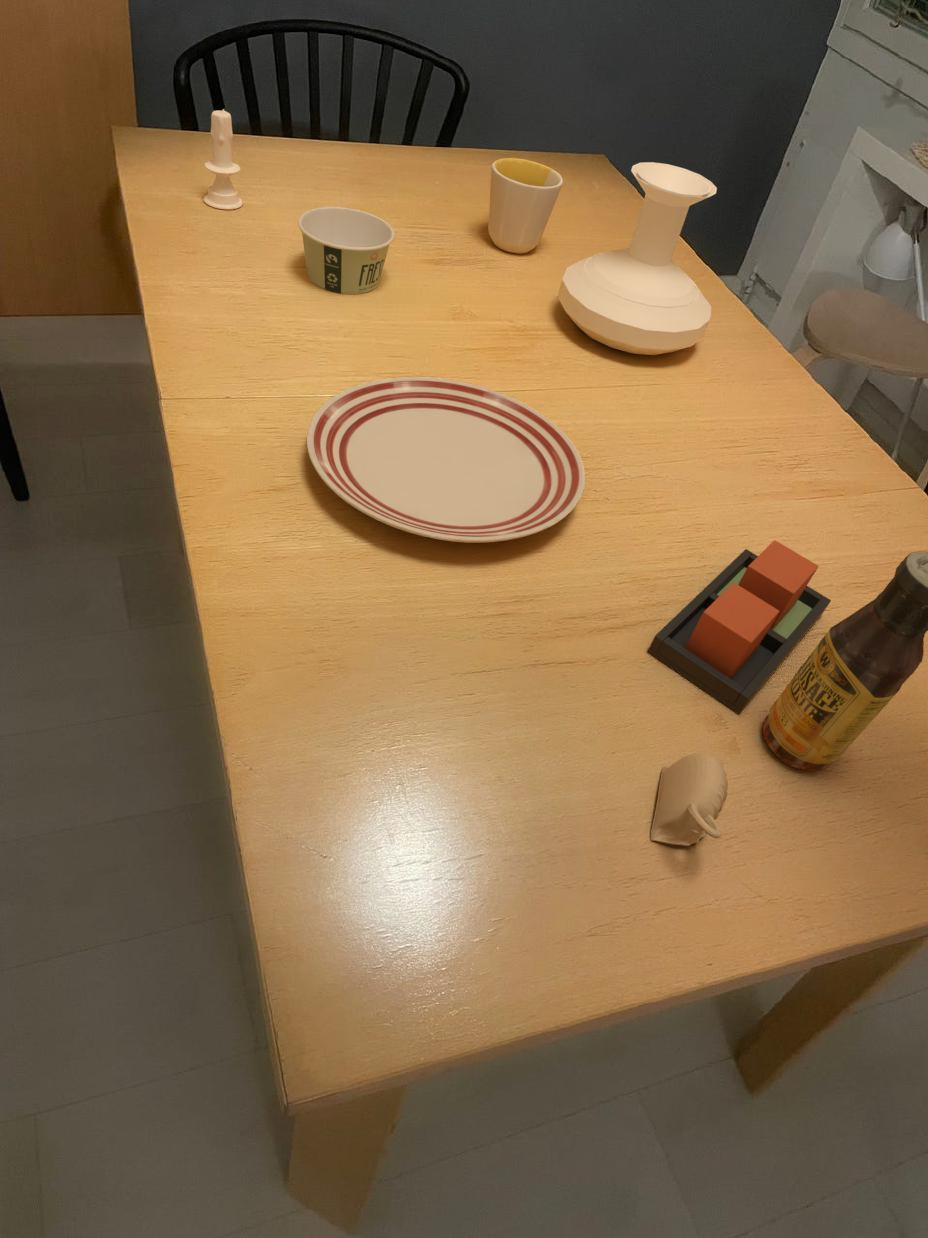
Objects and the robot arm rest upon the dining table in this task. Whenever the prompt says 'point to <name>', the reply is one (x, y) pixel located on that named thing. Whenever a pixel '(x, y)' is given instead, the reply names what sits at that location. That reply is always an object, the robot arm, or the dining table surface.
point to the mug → (521, 203)
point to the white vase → (643, 274)
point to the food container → (344, 248)
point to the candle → (222, 164)
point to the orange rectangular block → (731, 629)
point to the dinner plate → (445, 459)
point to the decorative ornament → (689, 800)
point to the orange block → (778, 578)
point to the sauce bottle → (852, 672)
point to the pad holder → (760, 663)
